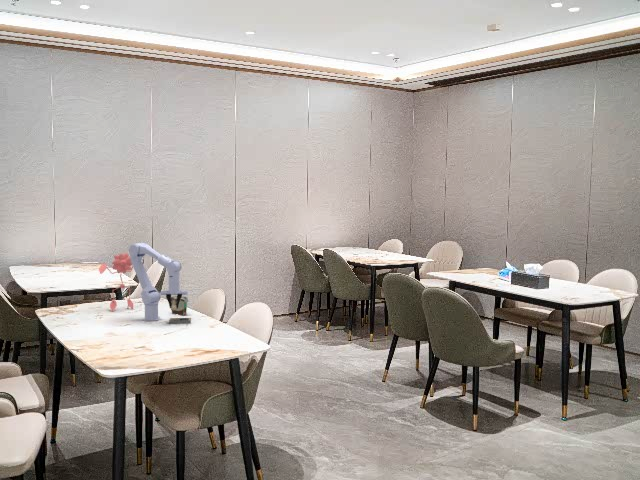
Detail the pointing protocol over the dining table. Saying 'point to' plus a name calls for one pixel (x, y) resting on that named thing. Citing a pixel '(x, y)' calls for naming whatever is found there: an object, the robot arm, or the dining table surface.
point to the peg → (173, 304)
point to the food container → (181, 306)
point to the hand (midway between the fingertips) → (174, 307)
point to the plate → (180, 321)
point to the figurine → (121, 265)
